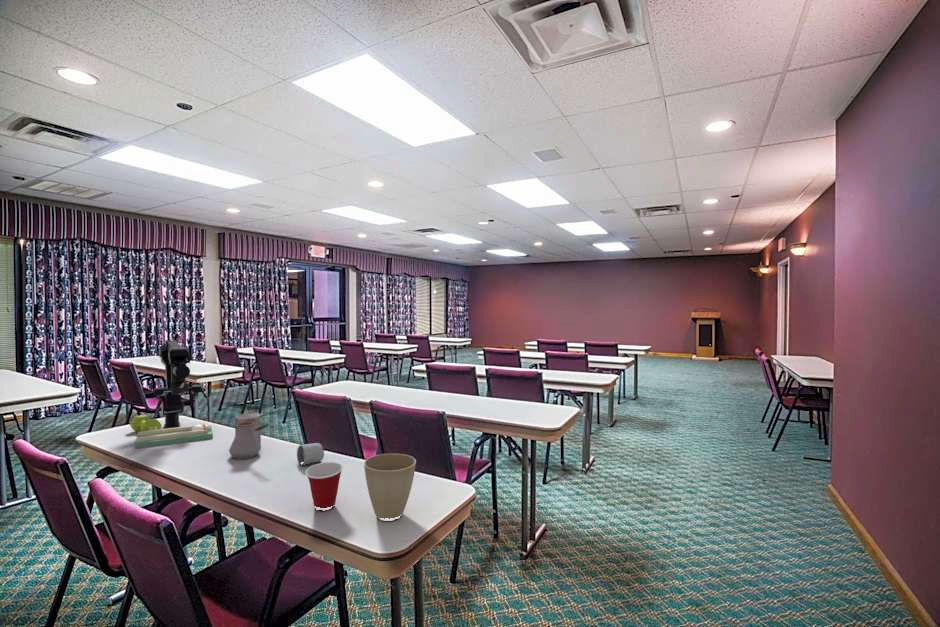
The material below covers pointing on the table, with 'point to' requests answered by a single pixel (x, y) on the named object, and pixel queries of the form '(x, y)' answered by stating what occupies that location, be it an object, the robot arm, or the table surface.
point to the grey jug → (249, 418)
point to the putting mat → (172, 436)
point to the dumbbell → (144, 424)
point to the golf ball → (197, 428)
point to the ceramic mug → (310, 453)
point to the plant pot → (389, 483)
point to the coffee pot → (246, 441)
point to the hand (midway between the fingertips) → (178, 408)
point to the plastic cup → (324, 483)
